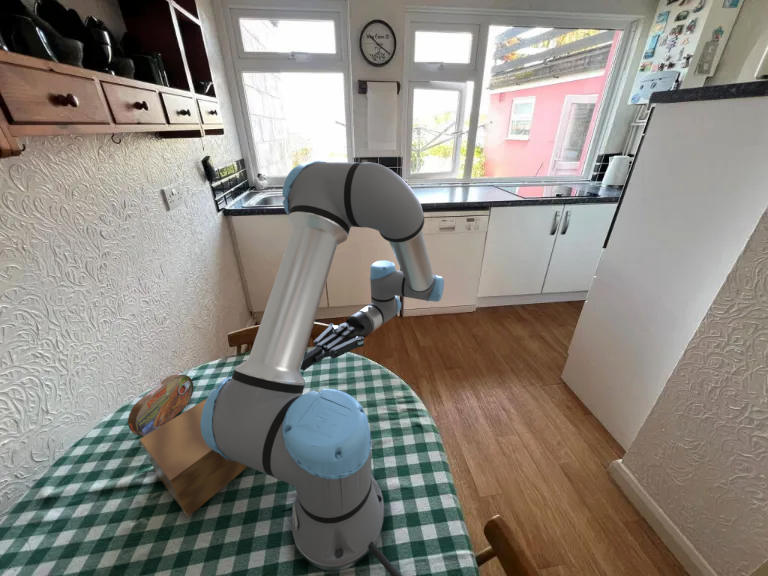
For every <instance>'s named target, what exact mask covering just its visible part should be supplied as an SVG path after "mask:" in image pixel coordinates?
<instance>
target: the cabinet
mask: <svg viewBox="0 0 768 576" xmlns="http://www.w3.org/2000/svg"><path fill="white" fill-rule="evenodd" d="M206 400H207V398H205V399H203V400H201V401H200V402H199V403H197V404H195V405H194V406H192V407H191V408H189V409H187V410H185V411H184V412H182V413H180V414H178V415H176V416H175V417H174V418H173V419H172V420H170V421H169V422H167V423H165V424H164V425H162V426H161V427H159V428H157V429H156V430H154V431H152V432H151V433H149V434H147V435H146V436H142V437H141V438H139V442H140V443H141V446H142V448H143V450H144V452H145V454H146V456H147V458H148V459H149V462H150V464H151V465H152V468H153V469H154V471H155V473H156V475H157V477H158V478H159V480H160V481H161V482H162V484H163V485H164V486H165V488H166V489H167V491H168V492H169V494H170V495H171V496H172V498H173V499H174V501H175V502H176V503H177V505H178V506H179V507H180V509H181V510H182V512H183V513H184V515H185V516H186V517H187V518H189V517H190V516H191V515H193V514H194V513H195V512H197V510H199V509H200V508H201V507H202V506H203V505H205V504H206V503H207V502H208V501H209V500H210V499H212V498H213V497H214V496H215V495H217V493H219V492H220V491H221V490H222V489H223V488H225V487H226V486H227V485H229V483H230V482H232V481H233V480H235V478H237V477H238V476H239V475H240V474H242V472H243V471H245V470H246V469H247V468H249V467H248V466H245V465H243V464H241V463H238V462H236V461H231V460H228V459H226V458H224V457H223V456H221V455H220V454H219V453H217V452H216V451H214V450H212V449H211V448H209V447H208V446H207V444H206V442H205V441H204V439H203V437H202V433H201V415H202V410H203V407H204V404H205V402H206Z"/></svg>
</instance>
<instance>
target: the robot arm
mask: <svg viewBox="0 0 768 576" xmlns="http://www.w3.org/2000/svg"><path fill="white" fill-rule="evenodd" d="M281 193H282V197H283V198H284V199H283V200H282V205H283V208H284V211H285V213H286V215H287V217H286V220H287V223H288V225H289V227H290V228H291V233H290V235H289V238H288V242H287V245H286V247H285V250H284V254H283V257H282V258H281V262H280V265H279V268H278V271H277V274H276V277H275V279H274V282H273V285H272V289H271V292H270V295H269V297H268V301H267V304H266V306H265V309H264V312H263V316H262V318H261V321H260V324H259V327H258V330H257V333H256V336H255V338H254V341H253V345H252V348H251V351H250V354H249V357H248V358H247V359H246V360H245V361H243V362H242V363H239V364H238V365H237V366H235V367H234V370H233V373H232V375H231V376H229V377H226V378H225V379H222V381H220V382H218V384H217V387H216V388H214V389H212V390H211V391H210V393H209V395H208V396H207V398H206V399H207V400H206V402H205V404H204V407H203V410H202V415H201V433H202V437H203V439H204V441H205V442H206V444H207V446H208V447H209V448H211V449H212V450H214V451H216V452H217V453H219V454H220V455H221V456H223V457H224V458H226V459H228V460H231V461H236V462H238V463H241V464H243V465H245V466H248V467H247V468H251V469H252V470H255V471H258V472H260V473H263V474H264V475H267V476H270V477H273V478H275V479H277V480H279V481H282V482H284V483H286V484H288V485H291V486H293V487H294V489H295V492H296V496H295V501H294V502H293V504H292V512H291V532H292V536H293V540H294V543H295V547H296V549H297V551H298V552H299V554H300V555H301V557H302V559H304V560H305V562H307V563H308V564H310V565H311V566H313V567H315V568H317V569H320V570H324V571H331V572H333V571H335V572H336V571H341V570H345V569H348V568H350V567H353V566H355V565H357V564H358V563H360V562H361V561H362V560H364V559H365V558H366V557H367V556H369V554H370V553H372V554H373V556H374V557H375V558H376V559H377V560H378V562H379V563H380V564H381V565H382V566H383V568H384V569H385V571H387V573H389V575H390V576H403V575H402V574H401V573H400V571H398V570H397V568H396V567H395V566H394V565H393V564H392V563H391V561H390V560H389V559H388V558H387V557H386V555H384V553H383V552H382V551H381V549H380V548H379V547H378V546H377V545H376V544H377V543H378V541H379V539H380V536H381V534H382V531H383V528H384V522H385V503H384V497H383V493H382V491H381V487H380V486H379V484H378V482H377V480H376V479H375V478H374V476H373V474H372V472H373V471H372V433H371V429H370V425H369V419H368V416H367V413H366V411H365V409H364V407H363V406H362V405H361V403H360V402H359V401H358V400H357V399H356V398H355V397H354V396H352V395H351V394H350V393H347V392H345V391H342V390H339V389H336V388H321V389H320V391H316V390H309V391H308V392H306V393H304V390H305V386H306V380H305V379H304V377H303V375H302V373H301V371H305V370H307V369H309V368H310V367H311V366H313V365H315V364H316V363H318V364H319V362H322V361H323V360H324V359H325V358H329V357H330V358H331V359H333V360H334V359H337V358H339V357H341V356H343V355H345V354H347V353H348V352H349V353H350V352H351V351H353V350H355V349H357V348H362V347H364V346H365V338H367V337H368V336H369V335H370V334H372V333H373V332H375V331H376V330H378V329H379V328H380V327H381V326H383V325H384V324H386V323H387V322H388V321H390V320H391V319H393V318H394V317H396V315H397V314H398V313H399V312H400V311H401V309H402V302H401V300H400V298H399V297H402V298H403V297H404V298H408V299H415V300H419V301H420V300H421V301H425V302H436V303H437V302H440V301H441V299H442V297H443V294H444V287H445V278H444V277H443V276H441V275H437V274H434V272H433V268H432V264H431V259H430V255H429V251H428V248H427V247H428V246H427V245H426V240H425V236H424V232H423V229H424V226H425V220H426V219H425V214H424V210H423V207H422V204H421V202H420V200H419V198H418V196H417V195H416V193H415V192H414V191H413V189H412V187H410V185H409V184H408V183H407V182H406V181H405V180H404V179H403V178H402V177H401V176H400V175H399V174H397V173H396V172H395V171H393V170H392V169H391V168H389V167H386V166H385V165H382V164H380V163H376V162H372V161H363V162H355V161H353V162H349V161H348V162H342V161H341V162H339V161H338V162H336V161H335V162H333V161H331V162H330V161H329V162H327V161H323V160H322V161H321V160H314V161H310V162H303V163H299V164H297V165H295V166H294V167H293V168H292V169H291V170H290V171H289V173H288V174H287V176H286V177H285V180H284V182H283V186H282V192H281ZM351 228H368V229H372V230H375V231H377V232H379V234H380V236H381V237H382V239H384V241H386V242H388V243H389V245H390V247H391V250H392V252H393V255H394V256H395V258H396V261H397V263H398V266H399V268H400V270H397V269H396V264H395V263H394V262H393V261H390V260H377V261H375V262H373V263H372V264H371V265H370V270H369V271H370V272H369V273H370V274H369V283H370V303H369V304H368V305H366V306H364V307H363V308H362V309H360V310H358V311H357V312H355V313H353V314H352V315H349V316H348V317H347V318H346V320H345V322H343V323H340V324H338V325H334V323H333V322H332V323H329V324H328V326H327V328H325V330H324V331H323V332H321V334H320V335H318V336H317V337H316V338H315V340H314V339H313V346H314V347H313V348H311V349H310V350H308V351H307V348H308V345H309V341H310V338H311V334H312V331H313V328H314V324H315V321H316V317H317V314H318V311H319V307H320V304H321V301H322V297H323V293H324V291H325V287H326V284H327V281H328V277H329V274H330V270H331V267H332V263H333V260H334V257H335V254H336V251H337V246H338V245H340V244H343V243H344V242H346V241H347V240H348V237H349V234H350V231H351Z"/></svg>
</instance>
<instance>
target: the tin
mask: <svg viewBox="0 0 768 576" xmlns="http://www.w3.org/2000/svg"><path fill="white" fill-rule="evenodd" d="M193 392H194V382H193V380H192V378H191V377H190V376H189V375H186V374H170V375H169V376H167V377H165V378H164V379H163V380H161V381H160V382H159V383H158V384H157V385H156V386H155V387H153V388H152V389H151V390H150V391H149V392H147V393H146V394H145V395H143V396H142V397H141V398H140V399H139V400H138V401H137V402H136V403H134V405H133V407H132V408H131V410H130V412H129V414H128V417H127V425H128V428H129V430H130V431H131V433H132V434H134V435H137V436H142V437H144V436H146V435H147V434H149V433H151V432H152V431H154V430H156V429H157V428H159V427H161V426H162V425H164V424H165V423H167V422H169V421H170V420H172V419H174V418H175V417H177V416H178V415H179V413H180V412H181V411H182V410H183V409H184V408H185V407H186V406H187V405H188V404H189V403H190V401H191V398H192V397H193V394H194V393H193Z"/></svg>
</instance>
